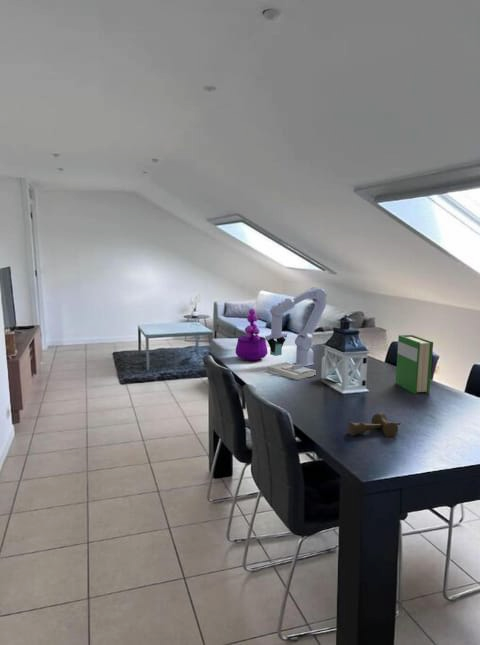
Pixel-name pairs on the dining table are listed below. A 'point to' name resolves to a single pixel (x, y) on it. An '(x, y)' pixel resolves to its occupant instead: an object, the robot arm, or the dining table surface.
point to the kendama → (374, 426)
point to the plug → (277, 350)
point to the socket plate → (289, 371)
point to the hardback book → (414, 363)
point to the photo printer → (323, 368)
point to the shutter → (299, 368)
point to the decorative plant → (251, 341)
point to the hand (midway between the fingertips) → (276, 351)
